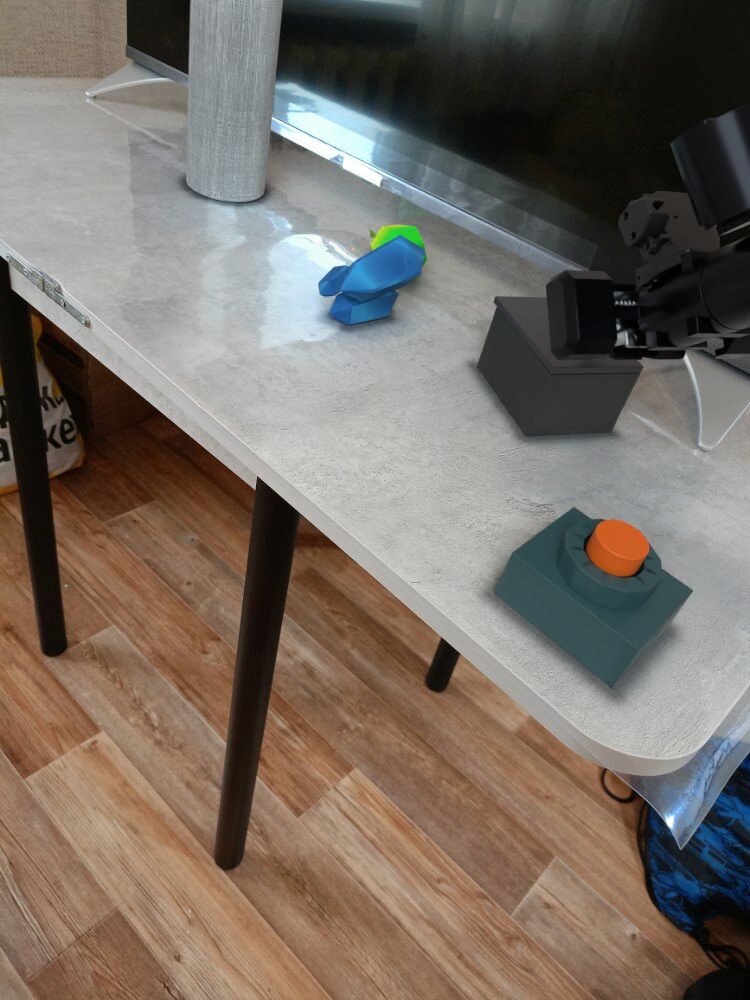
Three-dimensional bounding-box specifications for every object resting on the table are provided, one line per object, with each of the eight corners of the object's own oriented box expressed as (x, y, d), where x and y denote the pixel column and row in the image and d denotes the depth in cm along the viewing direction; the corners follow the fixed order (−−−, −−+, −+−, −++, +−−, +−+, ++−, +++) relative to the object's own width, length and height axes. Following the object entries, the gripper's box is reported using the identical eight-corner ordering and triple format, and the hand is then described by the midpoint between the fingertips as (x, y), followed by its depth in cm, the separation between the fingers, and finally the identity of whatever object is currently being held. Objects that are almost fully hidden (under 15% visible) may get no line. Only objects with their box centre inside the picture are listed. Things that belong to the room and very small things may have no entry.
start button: (647, 561, 50) (659, 543, 49) (622, 585, 48) (633, 567, 47) (603, 529, 52) (613, 511, 51) (575, 552, 50) (585, 533, 48)
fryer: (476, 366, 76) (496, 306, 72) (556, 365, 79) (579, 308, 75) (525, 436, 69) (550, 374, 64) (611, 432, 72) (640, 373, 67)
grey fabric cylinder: (279, 192, 100) (306, -56, 82) (232, 210, 93) (250, -58, 75) (219, 166, 102) (232, -80, 84) (169, 182, 95) (171, -83, 77)
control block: (666, 628, 54) (706, 572, 50) (611, 688, 49) (651, 631, 45) (554, 545, 58) (583, 488, 54) (493, 593, 53) (520, 533, 49)
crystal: (301, 247, 73) (396, 207, 78) (307, 321, 79) (393, 279, 84) (350, 283, 69) (445, 238, 74) (351, 357, 76) (438, 311, 81)
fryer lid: (492, 302, 72) (495, 295, 72) (575, 304, 76) (578, 297, 75) (551, 374, 64) (553, 367, 64) (640, 373, 67) (644, 366, 67)
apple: (429, 226, 81) (377, 191, 86) (387, 268, 81) (338, 231, 86) (446, 266, 87) (398, 232, 92) (408, 305, 88) (361, 269, 92)
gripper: (822, 181, 55) (670, 255, 69) (609, 159, 48) (491, 246, 63) (836, 334, 55) (680, 375, 69) (624, 332, 48) (502, 379, 63)
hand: (592, 342), depth 66 cm, fingers closed
